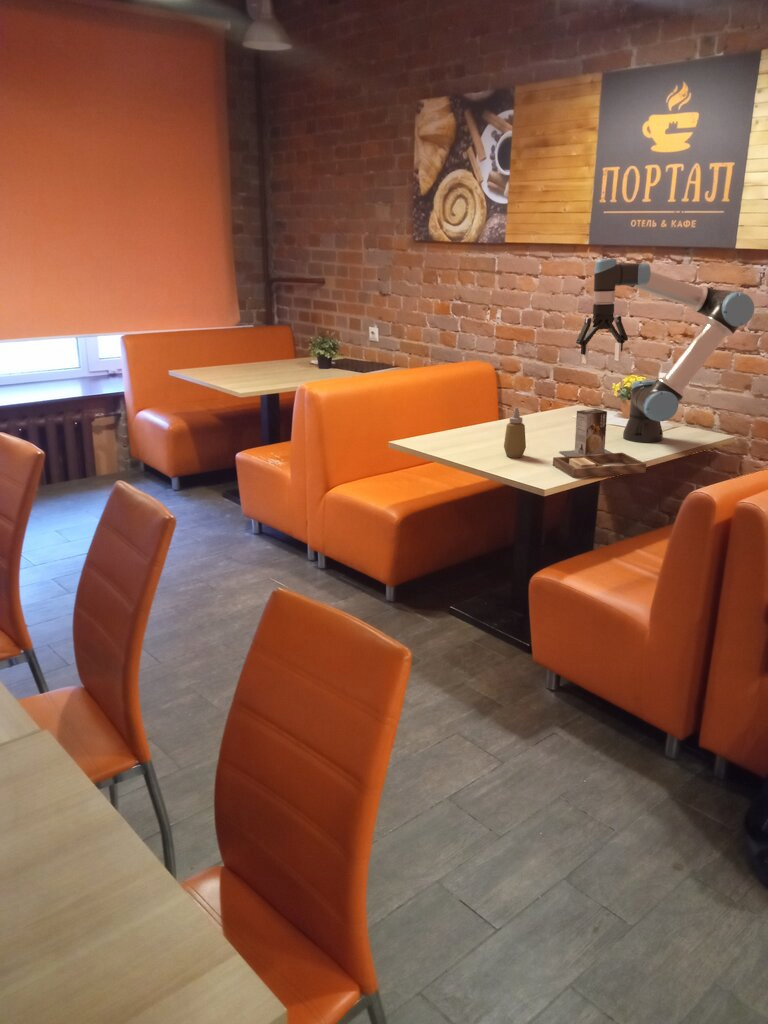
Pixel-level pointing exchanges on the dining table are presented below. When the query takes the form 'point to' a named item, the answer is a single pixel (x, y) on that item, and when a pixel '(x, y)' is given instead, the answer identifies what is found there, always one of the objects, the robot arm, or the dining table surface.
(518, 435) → the squeeze bottle
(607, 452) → the mat
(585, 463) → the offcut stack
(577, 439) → the coffee box
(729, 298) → the robot arm
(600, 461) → the wooden tray
